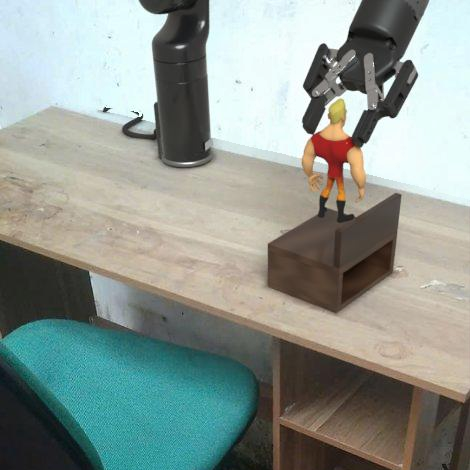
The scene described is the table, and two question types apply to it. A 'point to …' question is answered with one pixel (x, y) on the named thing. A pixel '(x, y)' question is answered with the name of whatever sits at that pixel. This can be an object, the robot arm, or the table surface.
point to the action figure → (334, 160)
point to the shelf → (336, 255)
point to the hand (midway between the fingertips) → (331, 137)
